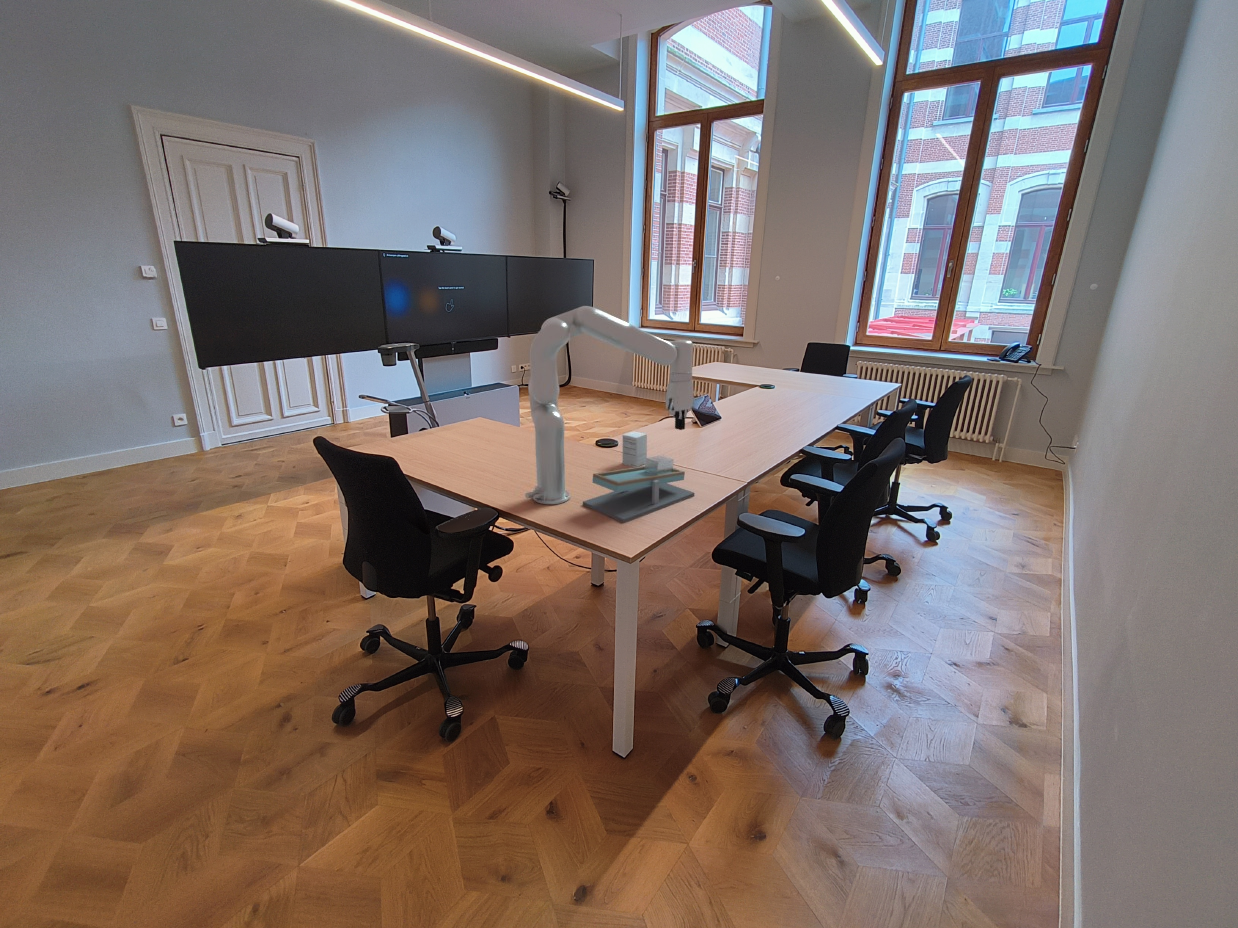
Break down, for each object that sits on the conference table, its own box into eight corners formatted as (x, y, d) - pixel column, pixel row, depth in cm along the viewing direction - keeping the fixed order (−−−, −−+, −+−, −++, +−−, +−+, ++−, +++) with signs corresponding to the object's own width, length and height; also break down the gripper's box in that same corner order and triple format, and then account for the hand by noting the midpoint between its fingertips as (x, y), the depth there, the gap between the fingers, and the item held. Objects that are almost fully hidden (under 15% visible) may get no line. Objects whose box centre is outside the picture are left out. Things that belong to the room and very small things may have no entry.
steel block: (656, 475, 190) (658, 461, 189) (644, 471, 194) (645, 457, 193) (672, 473, 196) (673, 459, 194) (659, 469, 200) (661, 455, 199)
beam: (617, 492, 174) (618, 483, 174) (592, 482, 183) (593, 473, 182) (683, 479, 196) (684, 471, 195) (658, 471, 204) (659, 463, 204)
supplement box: (632, 459, 235) (633, 430, 231) (647, 463, 231) (647, 433, 227) (621, 464, 230) (621, 434, 226) (636, 467, 225) (636, 437, 221)
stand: (623, 522, 174) (624, 495, 171) (582, 504, 188) (582, 479, 185) (694, 495, 196) (695, 471, 193) (652, 481, 210) (653, 458, 207)
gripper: (686, 373, 199) (685, 423, 205) (658, 378, 189) (657, 431, 195) (703, 375, 194) (701, 427, 200) (674, 381, 184) (673, 435, 190)
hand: (679, 428), depth 197 cm, fingers closed
